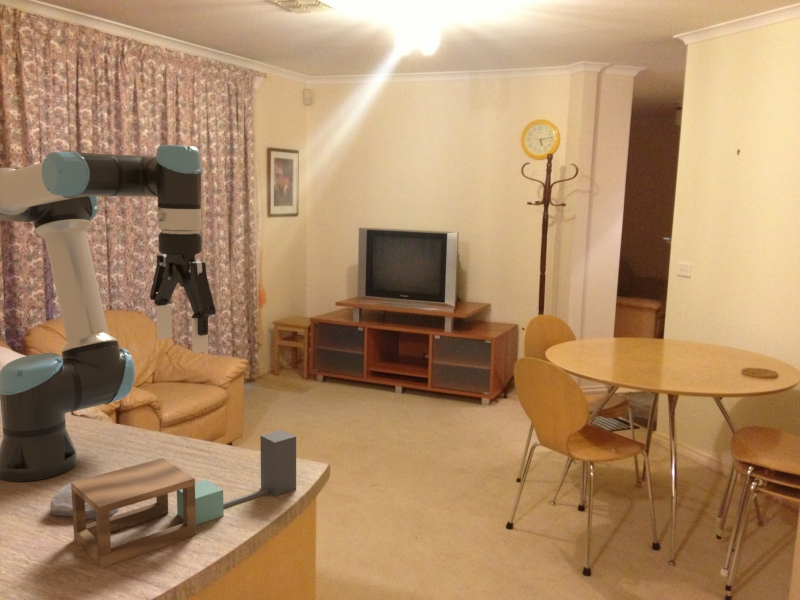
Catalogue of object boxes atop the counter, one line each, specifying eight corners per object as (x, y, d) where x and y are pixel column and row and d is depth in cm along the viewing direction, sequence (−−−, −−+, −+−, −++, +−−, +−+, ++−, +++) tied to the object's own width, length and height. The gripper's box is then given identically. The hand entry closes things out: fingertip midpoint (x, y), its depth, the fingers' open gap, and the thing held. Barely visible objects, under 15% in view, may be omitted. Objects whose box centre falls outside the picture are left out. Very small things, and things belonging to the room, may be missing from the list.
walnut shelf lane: (74, 539, 116) (71, 482, 115) (164, 510, 127) (162, 457, 126) (102, 568, 108) (98, 506, 106) (196, 534, 119) (194, 478, 117)
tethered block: (177, 514, 126) (175, 457, 124) (280, 480, 141) (280, 429, 140) (193, 526, 122) (191, 467, 120) (297, 489, 137) (297, 437, 135)
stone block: (113, 528, 124) (130, 494, 133) (110, 506, 122) (126, 473, 132) (45, 531, 123) (66, 497, 133) (40, 509, 121) (62, 476, 131)
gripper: (129, 227, 132) (132, 335, 135) (195, 238, 115) (197, 361, 118) (166, 226, 137) (168, 330, 141) (235, 236, 120) (235, 355, 123)
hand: (181, 345), depth 129 cm, fingers open, 13 cm apart
